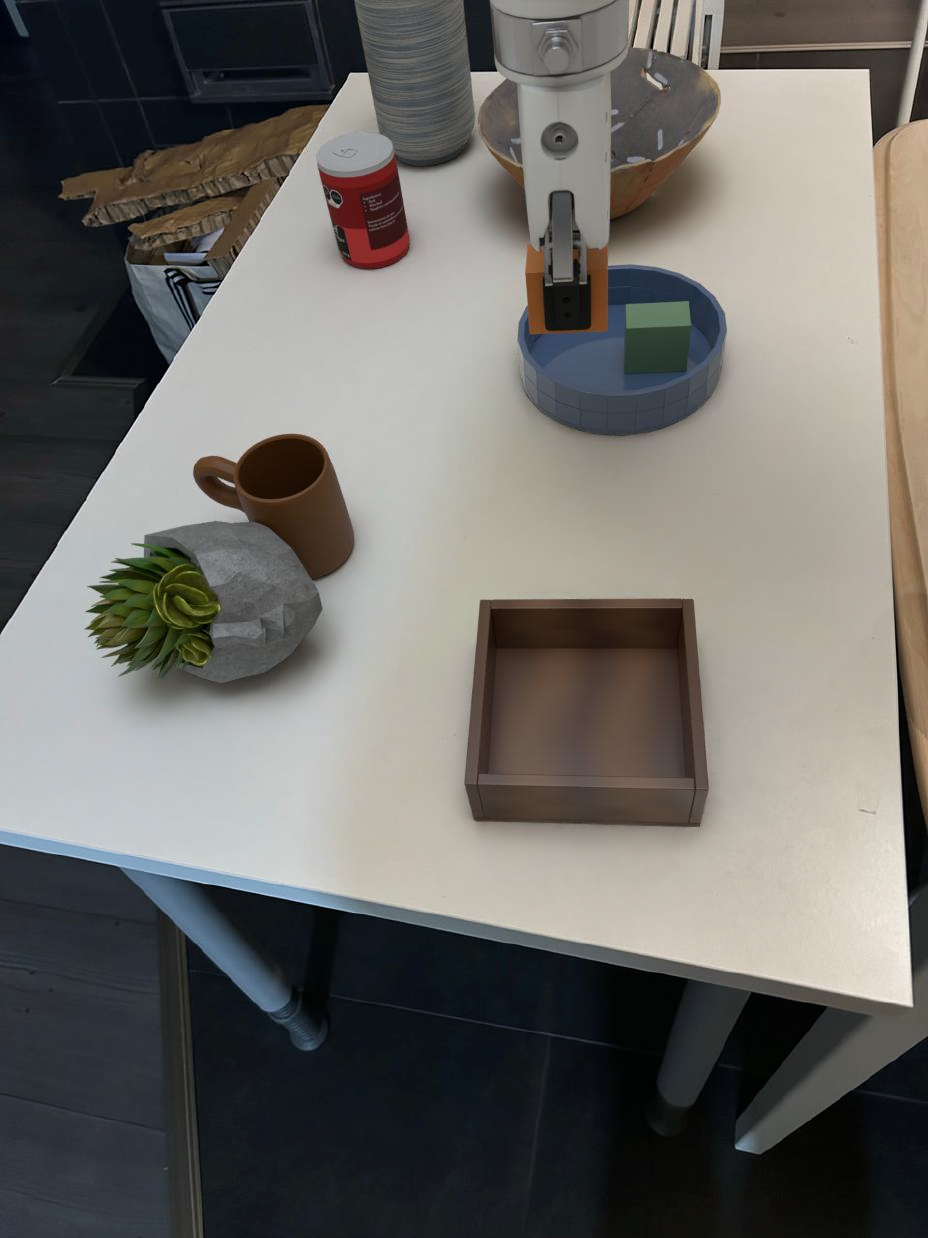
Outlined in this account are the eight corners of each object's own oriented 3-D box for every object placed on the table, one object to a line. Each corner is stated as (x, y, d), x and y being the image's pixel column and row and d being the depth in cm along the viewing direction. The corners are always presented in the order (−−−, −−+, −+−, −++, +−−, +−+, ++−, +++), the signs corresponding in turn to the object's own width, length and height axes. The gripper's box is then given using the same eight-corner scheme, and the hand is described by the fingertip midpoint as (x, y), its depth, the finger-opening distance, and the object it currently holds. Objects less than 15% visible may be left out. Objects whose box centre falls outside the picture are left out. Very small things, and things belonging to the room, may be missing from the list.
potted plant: (346, 648, 65) (140, 744, 59) (297, 636, 76) (120, 714, 71) (281, 486, 62) (59, 569, 56) (241, 498, 74) (52, 568, 68)
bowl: (583, 116, 112) (582, 26, 104) (758, 175, 101) (772, 79, 93) (438, 214, 103) (425, 124, 95) (611, 290, 92) (613, 195, 84)
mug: (205, 567, 76) (162, 488, 69) (242, 500, 81) (206, 419, 73) (337, 590, 73) (307, 510, 66) (369, 520, 77) (344, 437, 70)
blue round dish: (712, 300, 89) (717, 259, 85) (728, 431, 79) (735, 390, 75) (525, 309, 92) (522, 269, 88) (516, 438, 81) (513, 398, 78)
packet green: (684, 347, 85) (688, 300, 81) (686, 371, 83) (691, 325, 79) (623, 349, 86) (625, 303, 82) (624, 373, 84) (626, 328, 80)
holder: (687, 644, 67) (693, 598, 62) (700, 827, 59) (709, 790, 54) (487, 643, 69) (479, 599, 64) (473, 821, 61) (464, 784, 56)
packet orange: (607, 301, 67) (608, 239, 63) (607, 331, 65) (607, 268, 61) (532, 305, 68) (527, 243, 64) (529, 334, 66) (525, 272, 62)
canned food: (347, 230, 104) (324, 132, 95) (416, 228, 102) (399, 128, 93) (332, 271, 99) (307, 172, 90) (404, 270, 98) (385, 169, 89)
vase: (433, 113, 117) (403, -106, 98) (497, 140, 111) (477, -88, 93) (364, 153, 113) (318, -67, 95) (426, 183, 107) (391, -45, 89)
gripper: (630, 94, 46) (622, 384, 60) (627, -40, 55) (621, 240, 70) (480, 105, 47) (509, 388, 62) (503, -28, 56) (523, 245, 71)
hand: (569, 307), depth 66 cm, fingers closed on packet orange, 3 cm apart
